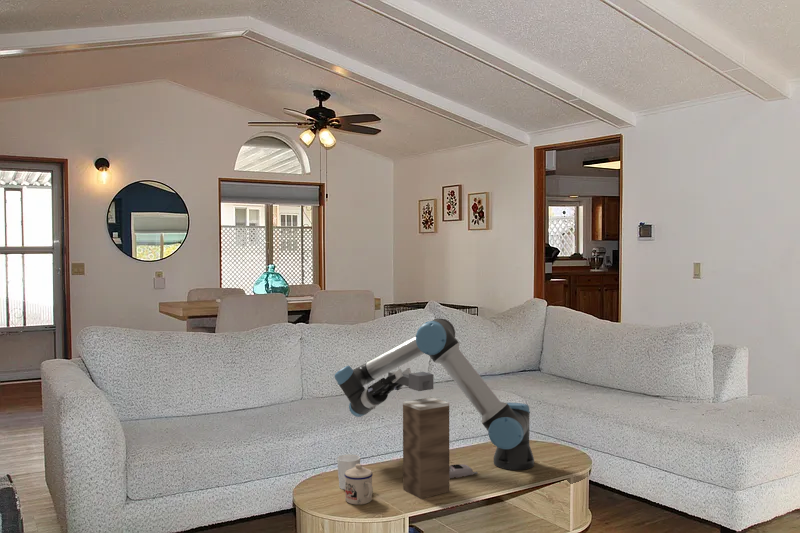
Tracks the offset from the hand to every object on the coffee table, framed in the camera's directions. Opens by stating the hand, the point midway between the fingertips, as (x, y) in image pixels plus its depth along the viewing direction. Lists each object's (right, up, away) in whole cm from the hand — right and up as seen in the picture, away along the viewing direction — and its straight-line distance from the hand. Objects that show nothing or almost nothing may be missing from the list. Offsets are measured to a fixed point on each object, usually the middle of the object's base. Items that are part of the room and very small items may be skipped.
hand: (405, 372), depth 242 cm
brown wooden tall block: (+7, -39, -9) cm, 40 cm away
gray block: (+1, -4, -1) cm, 5 cm away
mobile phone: (+14, -39, +6) cm, 41 cm away
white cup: (-19, -39, -4) cm, 44 cm away
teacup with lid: (-14, -39, -18) cm, 45 cm away
